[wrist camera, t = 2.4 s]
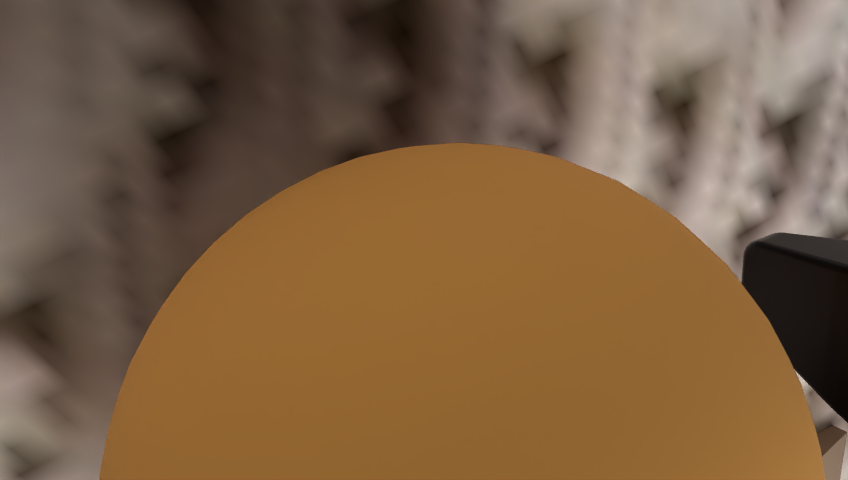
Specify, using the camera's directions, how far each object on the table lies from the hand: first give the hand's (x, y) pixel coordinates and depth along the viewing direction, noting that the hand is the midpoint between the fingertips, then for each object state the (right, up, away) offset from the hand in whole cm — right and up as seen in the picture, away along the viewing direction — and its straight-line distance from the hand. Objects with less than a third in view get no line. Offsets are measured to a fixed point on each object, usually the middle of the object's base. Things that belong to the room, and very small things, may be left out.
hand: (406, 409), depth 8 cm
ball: (-1, +1, +2) cm, 2 cm away
